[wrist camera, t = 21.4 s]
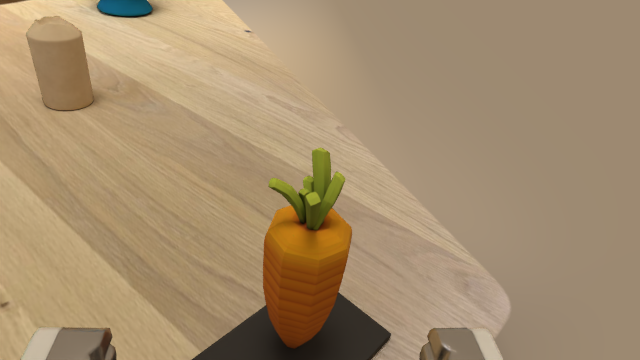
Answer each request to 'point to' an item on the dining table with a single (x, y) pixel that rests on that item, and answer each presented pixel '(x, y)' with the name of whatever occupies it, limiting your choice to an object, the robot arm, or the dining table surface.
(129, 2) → the vase
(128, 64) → the dining table surface
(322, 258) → the carrot
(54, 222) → the dining table surface
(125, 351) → the dining table surface
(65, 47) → the candle
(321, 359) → the mat
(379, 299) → the dining table surface
